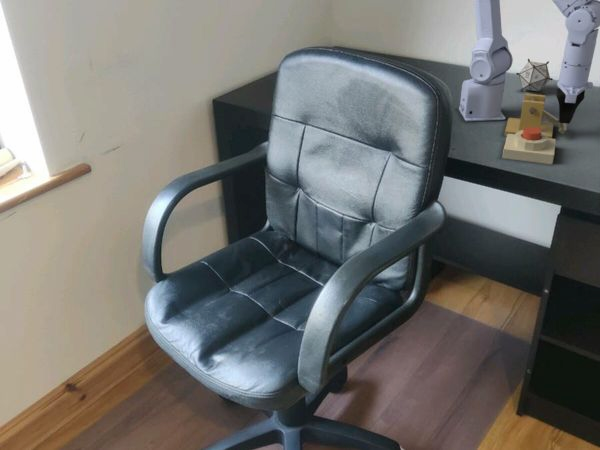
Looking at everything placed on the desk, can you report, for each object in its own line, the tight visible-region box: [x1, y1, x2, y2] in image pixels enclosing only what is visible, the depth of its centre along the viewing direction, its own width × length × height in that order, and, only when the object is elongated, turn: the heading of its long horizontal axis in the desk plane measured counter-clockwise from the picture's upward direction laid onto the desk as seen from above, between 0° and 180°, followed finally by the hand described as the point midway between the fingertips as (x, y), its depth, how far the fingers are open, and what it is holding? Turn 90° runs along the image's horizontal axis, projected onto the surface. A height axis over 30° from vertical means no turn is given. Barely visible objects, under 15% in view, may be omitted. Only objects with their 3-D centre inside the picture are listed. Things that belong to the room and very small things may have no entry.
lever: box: [530, 97, 568, 135], centre depth 138 cm, size 10×6×2 cm, turn 69°
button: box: [522, 127, 542, 141], centre depth 130 cm, size 4×4×2 cm
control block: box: [501, 130, 557, 165], centre depth 131 cm, size 10×8×4 cm
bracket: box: [503, 93, 555, 139], centre depth 139 cm, size 10×8×8 cm
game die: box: [515, 58, 554, 95], centre depth 160 cm, size 9×8×10 cm
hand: (564, 122), depth 137 cm, fingers closed, pressing on lever
